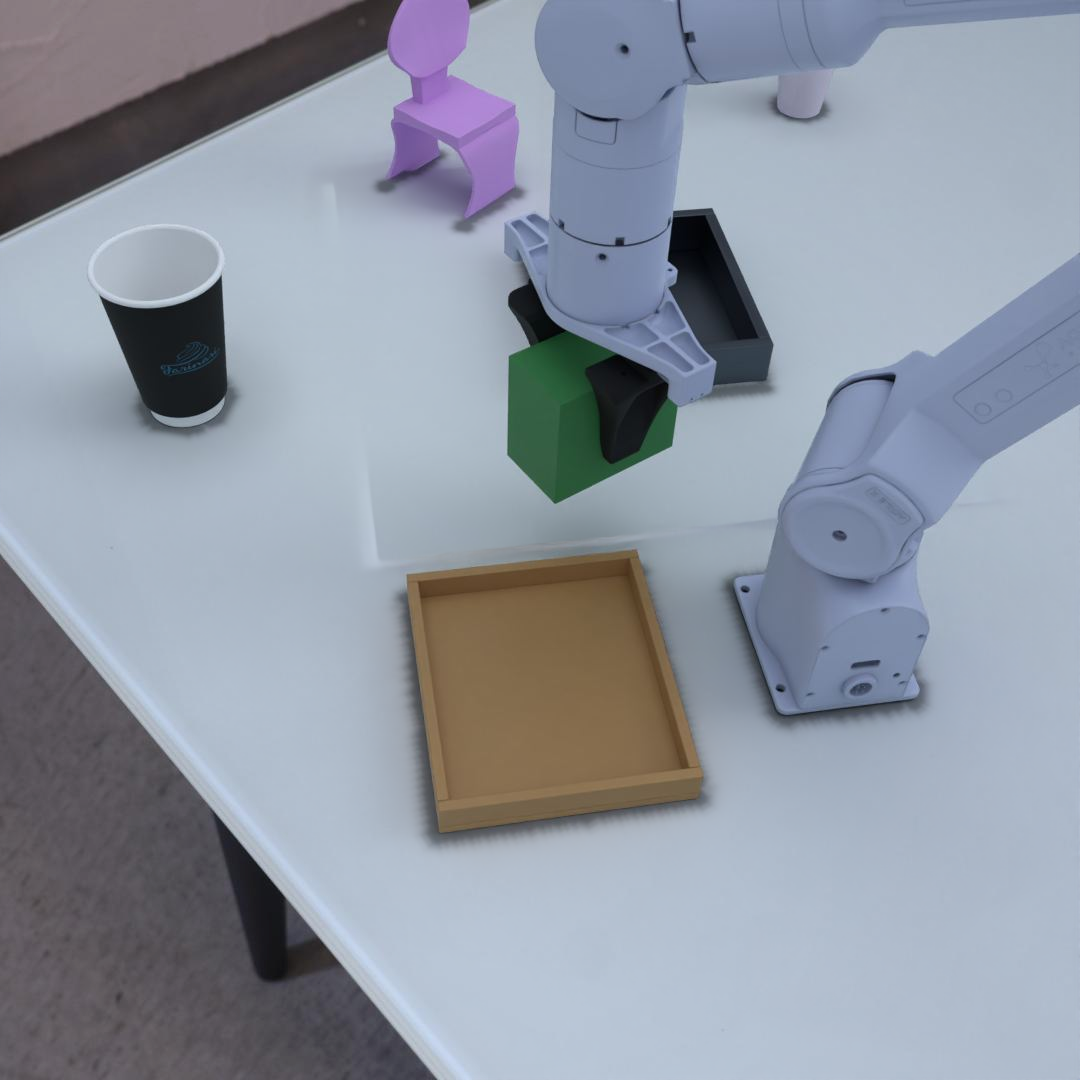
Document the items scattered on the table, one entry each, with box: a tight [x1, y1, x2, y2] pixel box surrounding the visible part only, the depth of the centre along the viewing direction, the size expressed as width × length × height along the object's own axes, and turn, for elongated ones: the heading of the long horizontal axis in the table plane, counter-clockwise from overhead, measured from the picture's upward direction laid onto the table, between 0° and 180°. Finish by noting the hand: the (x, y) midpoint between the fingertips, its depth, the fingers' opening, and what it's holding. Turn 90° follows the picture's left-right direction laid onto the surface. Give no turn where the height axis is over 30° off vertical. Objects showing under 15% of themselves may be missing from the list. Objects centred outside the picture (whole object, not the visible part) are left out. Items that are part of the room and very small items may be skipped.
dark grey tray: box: [667, 207, 775, 386], centre depth 90 cm, size 16×14×4 cm
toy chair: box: [386, 0, 520, 219], centre depth 96 cm, size 8×9×15 cm
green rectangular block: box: [506, 331, 679, 505], centre depth 69 cm, size 4×8×7 cm, turn 125°
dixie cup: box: [86, 223, 228, 428], centre depth 81 cm, size 8×8×11 cm
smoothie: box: [776, 69, 835, 119], centre depth 107 cm, size 6×6×14 cm
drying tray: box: [405, 548, 704, 834], centre depth 70 cm, size 15×13×2 cm
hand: (593, 426), depth 71 cm, fingers closed on green rectangular block, 4 cm apart
